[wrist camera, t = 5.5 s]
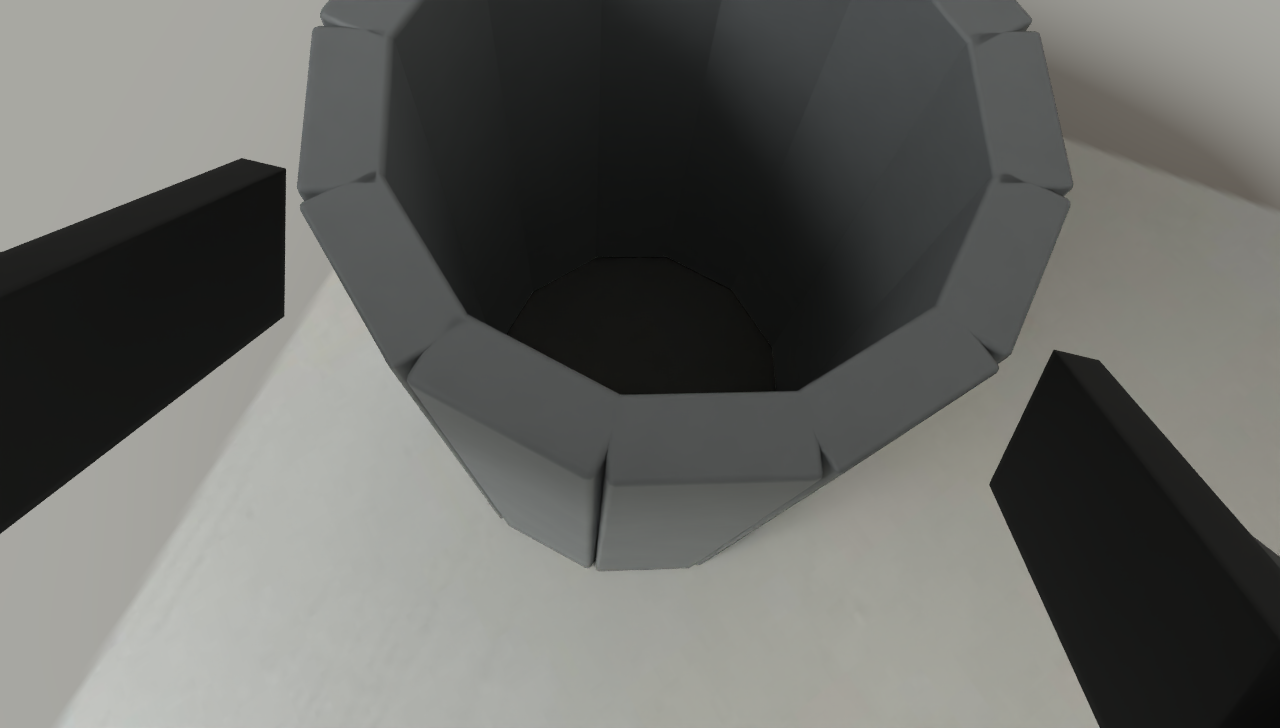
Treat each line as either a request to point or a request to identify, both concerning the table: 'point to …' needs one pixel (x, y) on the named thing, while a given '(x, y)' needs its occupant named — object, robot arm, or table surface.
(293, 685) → the table surface
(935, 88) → the slatted grey tube
